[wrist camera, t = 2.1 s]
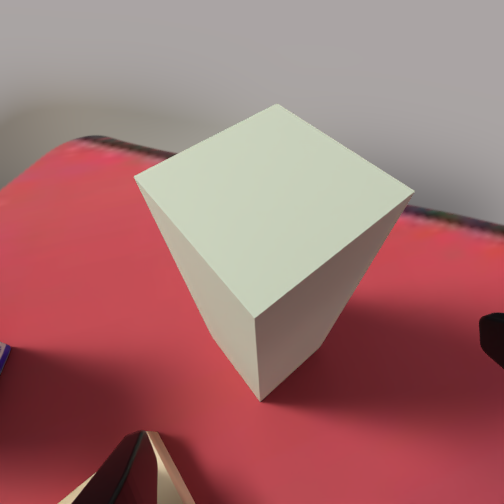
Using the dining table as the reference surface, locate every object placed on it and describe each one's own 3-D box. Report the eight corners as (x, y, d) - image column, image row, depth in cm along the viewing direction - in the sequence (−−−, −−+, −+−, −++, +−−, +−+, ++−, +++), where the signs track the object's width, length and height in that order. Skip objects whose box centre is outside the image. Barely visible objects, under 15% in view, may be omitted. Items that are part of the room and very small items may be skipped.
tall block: (320, 347, 19) (414, 191, 7) (260, 401, 17) (254, 318, 6) (269, 292, 21) (277, 103, 9) (211, 336, 19) (133, 176, 8)
